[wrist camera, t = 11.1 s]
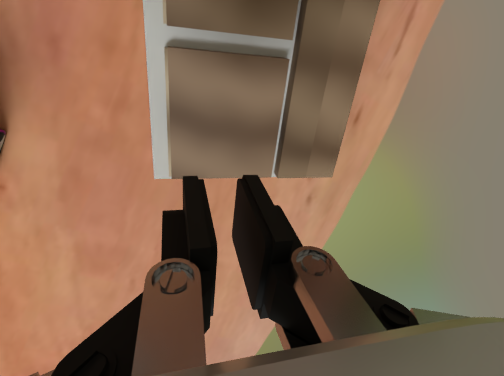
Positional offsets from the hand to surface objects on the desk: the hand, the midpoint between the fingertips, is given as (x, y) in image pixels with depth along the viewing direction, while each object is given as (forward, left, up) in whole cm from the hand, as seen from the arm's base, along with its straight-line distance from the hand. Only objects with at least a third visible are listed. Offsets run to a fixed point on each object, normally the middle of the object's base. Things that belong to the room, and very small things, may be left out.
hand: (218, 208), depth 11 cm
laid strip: (-5, +11, -15) cm, 19 cm away
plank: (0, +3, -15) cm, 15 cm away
